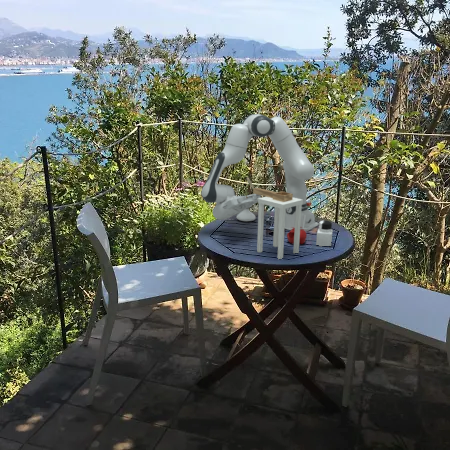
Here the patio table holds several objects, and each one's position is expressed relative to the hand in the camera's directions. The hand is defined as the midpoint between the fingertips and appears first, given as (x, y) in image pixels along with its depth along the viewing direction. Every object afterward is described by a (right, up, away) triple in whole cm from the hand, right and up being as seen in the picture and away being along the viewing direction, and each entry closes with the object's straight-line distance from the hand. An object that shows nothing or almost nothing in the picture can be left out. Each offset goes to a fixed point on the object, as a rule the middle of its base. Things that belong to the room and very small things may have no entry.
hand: (253, 195), depth 220 cm
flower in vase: (-1, -11, +47) cm, 48 cm away
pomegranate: (+22, -23, +9) cm, 34 cm away
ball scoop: (+8, -1, -8) cm, 11 cm away
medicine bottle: (+36, -24, +7) cm, 44 cm away
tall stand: (+11, -27, -5) cm, 30 cm away
